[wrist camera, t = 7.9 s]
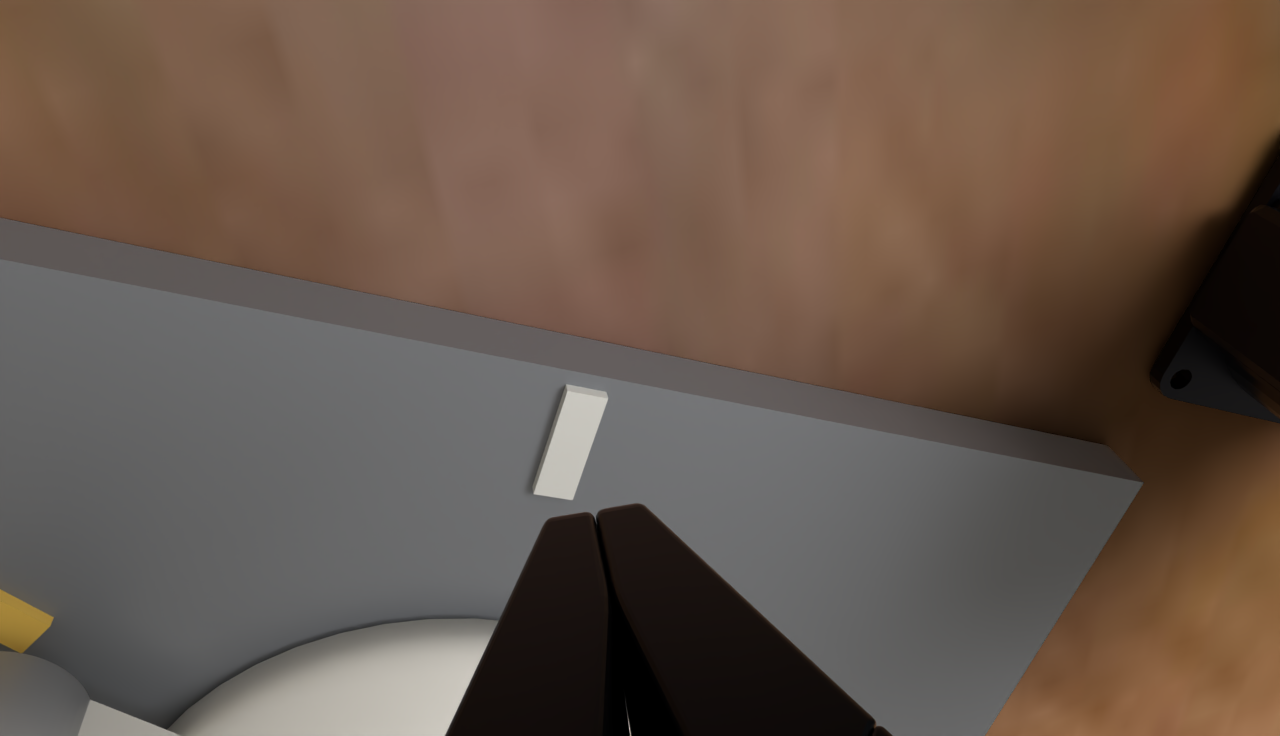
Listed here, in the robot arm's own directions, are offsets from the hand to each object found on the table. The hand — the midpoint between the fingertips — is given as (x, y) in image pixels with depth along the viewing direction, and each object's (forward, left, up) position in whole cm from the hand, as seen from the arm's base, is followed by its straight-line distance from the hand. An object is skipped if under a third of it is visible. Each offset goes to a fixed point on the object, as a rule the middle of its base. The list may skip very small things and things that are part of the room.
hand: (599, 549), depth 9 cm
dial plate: (-2, +17, -12) cm, 20 cm away
